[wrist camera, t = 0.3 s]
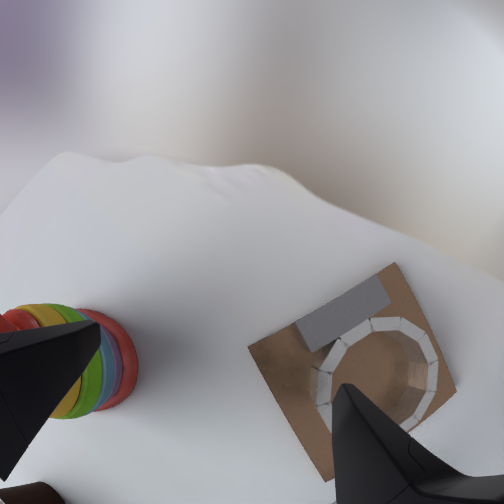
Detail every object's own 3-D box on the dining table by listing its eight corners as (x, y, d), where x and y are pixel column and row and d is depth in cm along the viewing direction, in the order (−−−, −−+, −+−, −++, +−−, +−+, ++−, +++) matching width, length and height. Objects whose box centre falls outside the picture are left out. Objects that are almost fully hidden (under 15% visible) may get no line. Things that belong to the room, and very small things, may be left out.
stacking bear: (60, 311, 24) (-74, 268, 8) (134, 302, 24) (-24, 237, 7) (71, 407, 21) (-63, 425, 4) (150, 414, 21) (1, 477, 4)
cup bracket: (451, 390, 19) (477, 395, 15) (323, 477, 18) (332, 500, 14) (390, 264, 24) (411, 249, 19) (248, 346, 22) (243, 348, 18)
